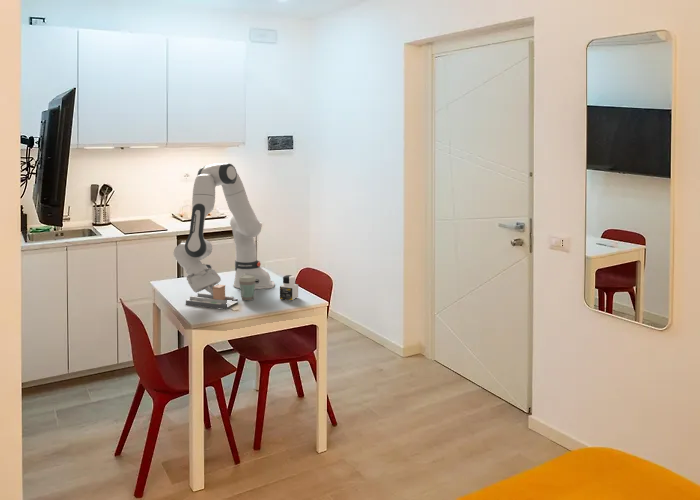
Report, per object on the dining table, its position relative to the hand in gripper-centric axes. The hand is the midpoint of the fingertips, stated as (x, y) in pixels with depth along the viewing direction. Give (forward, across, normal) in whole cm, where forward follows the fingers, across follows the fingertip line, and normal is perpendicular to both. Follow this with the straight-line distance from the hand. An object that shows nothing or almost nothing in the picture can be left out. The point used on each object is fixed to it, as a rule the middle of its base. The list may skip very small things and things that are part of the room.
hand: (214, 293), depth 306 cm
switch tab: (+4, 0, 0) cm, 4 cm away
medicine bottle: (+24, +23, -17) cm, 38 cm away
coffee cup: (+11, +14, -4) cm, 18 cm away
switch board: (+2, 0, +5) cm, 6 cm away
